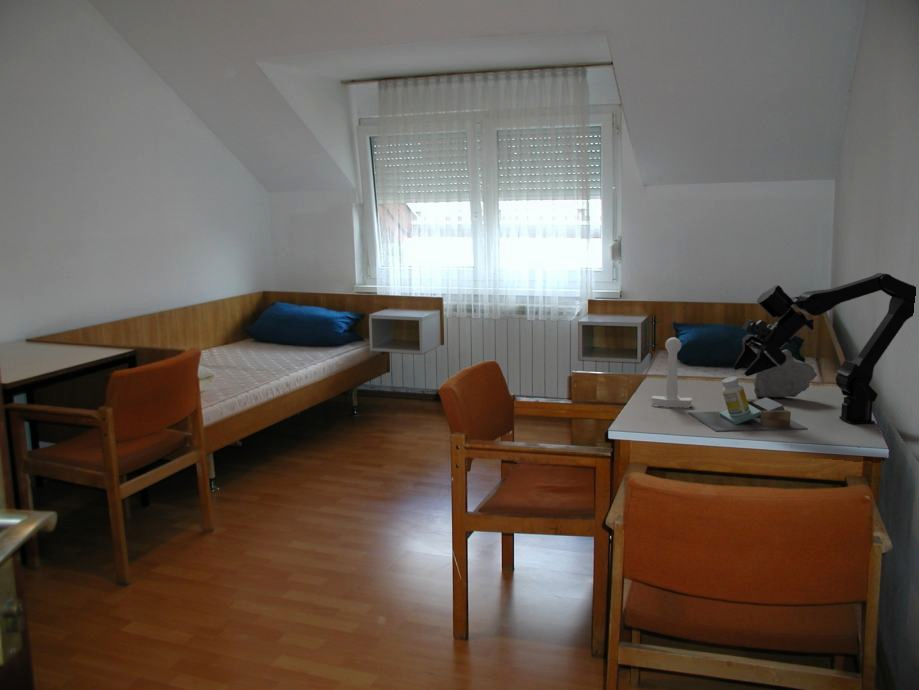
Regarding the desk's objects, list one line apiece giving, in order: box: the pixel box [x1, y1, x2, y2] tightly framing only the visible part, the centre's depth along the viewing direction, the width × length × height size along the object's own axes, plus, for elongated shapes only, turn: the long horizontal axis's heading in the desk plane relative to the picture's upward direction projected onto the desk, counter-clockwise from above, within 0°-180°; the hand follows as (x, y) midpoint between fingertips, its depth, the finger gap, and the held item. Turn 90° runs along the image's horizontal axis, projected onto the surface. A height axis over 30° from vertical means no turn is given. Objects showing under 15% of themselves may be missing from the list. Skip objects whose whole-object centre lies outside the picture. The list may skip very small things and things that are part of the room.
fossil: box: [753, 349, 818, 398], centre depth 240 cm, size 17×7×15 cm, turn 69°
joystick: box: [650, 336, 693, 409], centre depth 232 cm, size 11×8×20 cm
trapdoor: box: [718, 397, 785, 425], centre depth 214 cm, size 14×10×3 cm
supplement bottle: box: [721, 376, 750, 416], centre depth 212 cm, size 5×5×10 cm
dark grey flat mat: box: [688, 398, 808, 433], centre depth 213 cm, size 24×20×4 cm
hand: (739, 371), depth 212 cm, fingers open, 9 cm apart
